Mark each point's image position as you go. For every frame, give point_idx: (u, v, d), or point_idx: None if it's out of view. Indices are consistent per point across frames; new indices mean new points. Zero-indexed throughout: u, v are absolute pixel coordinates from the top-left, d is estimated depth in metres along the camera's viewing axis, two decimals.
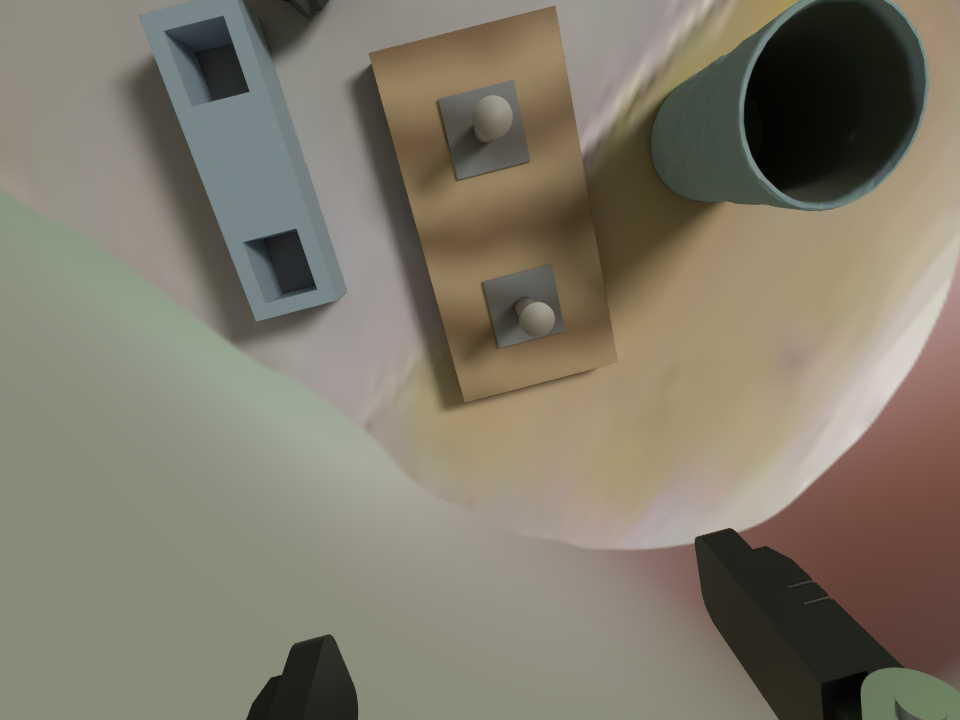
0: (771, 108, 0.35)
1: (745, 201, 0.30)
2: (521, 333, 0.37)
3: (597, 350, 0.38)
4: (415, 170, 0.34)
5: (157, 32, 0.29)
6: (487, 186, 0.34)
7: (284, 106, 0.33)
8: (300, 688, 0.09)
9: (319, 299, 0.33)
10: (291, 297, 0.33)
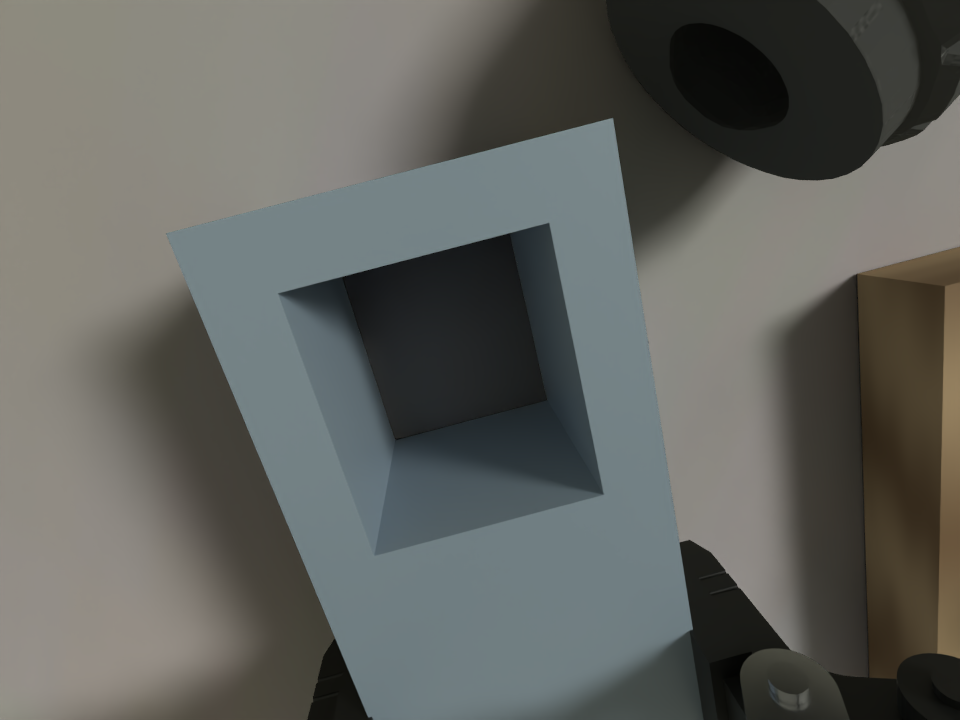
0: None
1: None
2: None
3: None
4: None
5: (251, 301, 0.06)
6: None
7: None
8: None
9: None
10: None
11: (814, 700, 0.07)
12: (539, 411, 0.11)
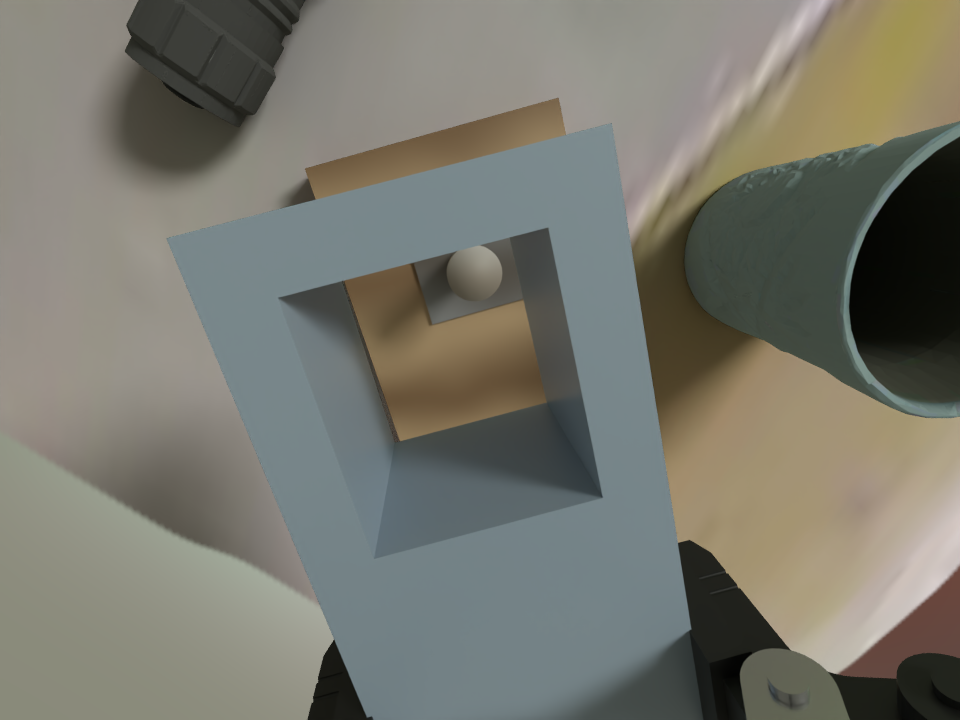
0: None
1: None
2: None
3: None
4: (375, 314, 0.25)
5: (251, 305, 0.06)
6: (472, 330, 0.26)
7: None
8: None
9: None
10: None
11: (814, 700, 0.07)
12: (538, 413, 0.11)
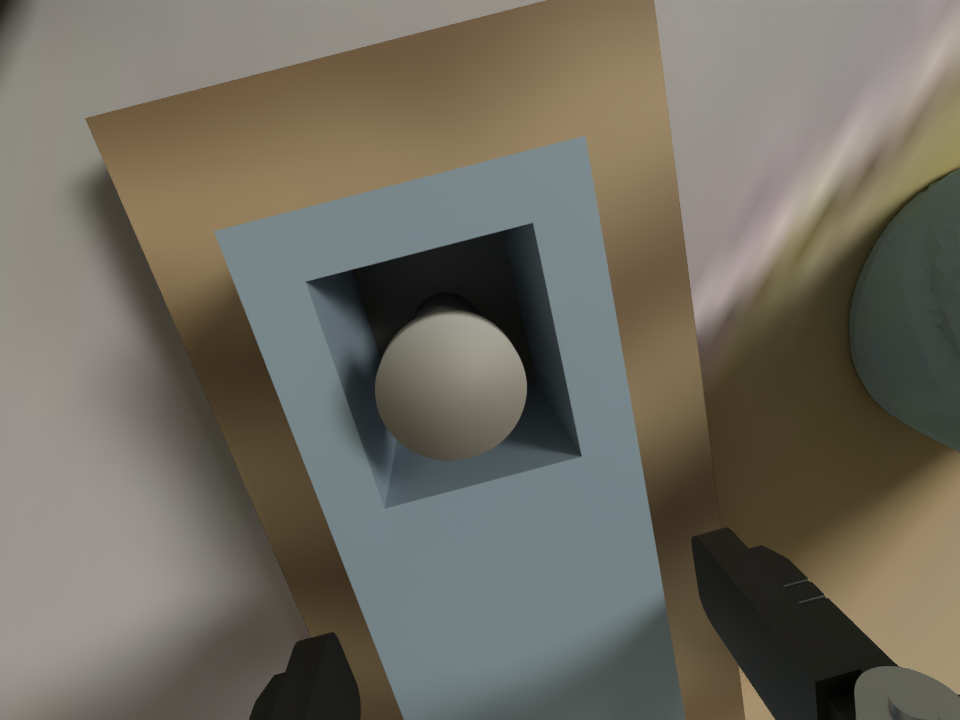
0: None
1: None
2: None
3: None
4: (259, 423, 0.12)
5: (283, 288, 0.08)
6: None
7: None
8: (304, 685, 0.09)
9: None
10: None
11: None
12: (530, 392, 0.12)
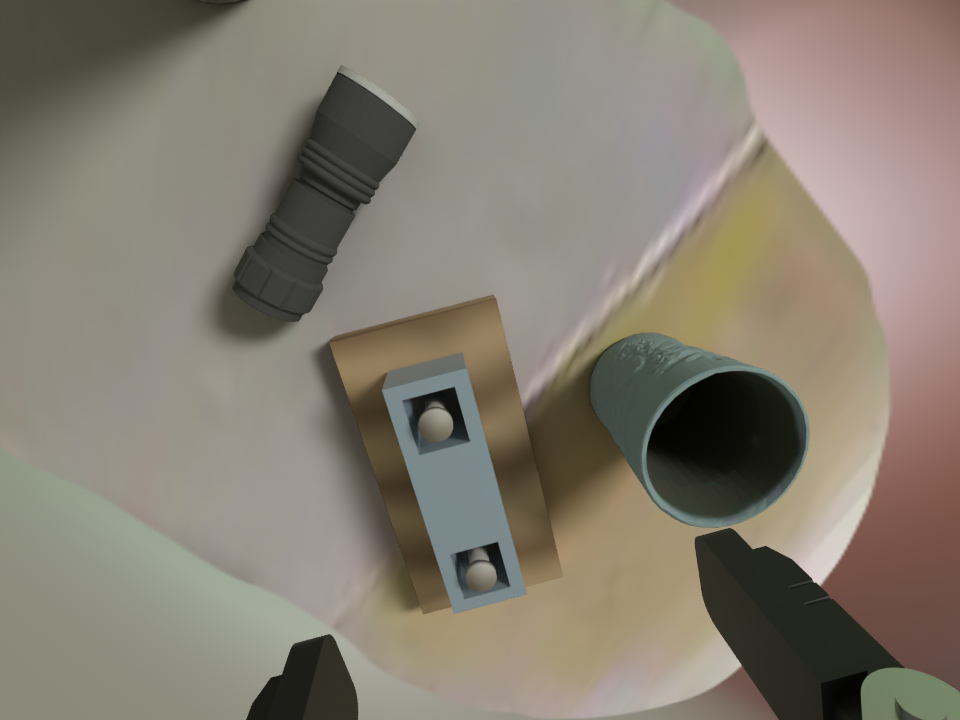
0: None
1: None
2: None
3: (543, 568, 0.42)
4: (373, 432, 0.37)
5: (396, 402, 0.32)
6: None
7: (481, 423, 0.37)
8: (300, 688, 0.09)
9: (512, 594, 0.37)
10: (487, 594, 0.37)
11: None
12: (463, 422, 0.37)
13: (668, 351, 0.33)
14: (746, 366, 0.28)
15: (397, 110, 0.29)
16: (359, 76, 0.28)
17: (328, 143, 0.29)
